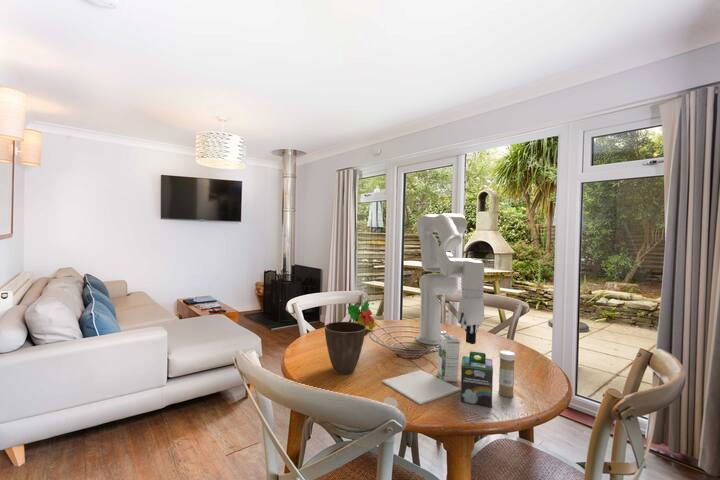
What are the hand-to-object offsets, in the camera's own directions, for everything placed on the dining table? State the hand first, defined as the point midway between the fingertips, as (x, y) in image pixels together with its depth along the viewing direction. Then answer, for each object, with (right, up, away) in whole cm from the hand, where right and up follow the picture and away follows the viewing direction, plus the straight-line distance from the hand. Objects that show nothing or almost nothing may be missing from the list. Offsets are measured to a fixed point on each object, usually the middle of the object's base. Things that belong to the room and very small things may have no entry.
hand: (470, 342), depth 129 cm
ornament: (-39, -9, +48) cm, 62 cm away
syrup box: (-10, -11, -7) cm, 16 cm away
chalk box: (-5, -11, -21) cm, 24 cm away
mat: (-21, -10, -14) cm, 27 cm away
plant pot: (-47, -9, -3) cm, 48 cm away
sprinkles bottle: (+6, -11, -17) cm, 22 cm away
